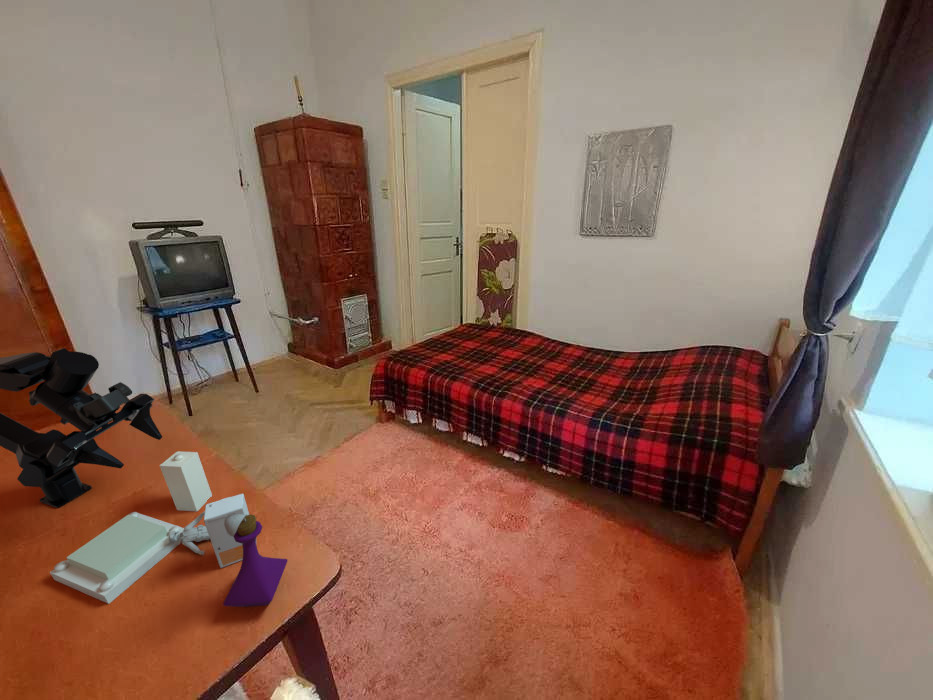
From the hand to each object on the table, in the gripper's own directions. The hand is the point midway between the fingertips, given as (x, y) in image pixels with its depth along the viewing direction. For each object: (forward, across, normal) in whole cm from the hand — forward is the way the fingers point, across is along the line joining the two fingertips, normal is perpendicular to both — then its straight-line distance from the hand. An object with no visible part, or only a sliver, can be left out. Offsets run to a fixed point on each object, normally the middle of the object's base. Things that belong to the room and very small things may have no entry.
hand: (142, 451), depth 78 cm
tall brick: (+15, 0, +4) cm, 15 cm away
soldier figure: (+22, -8, -3) cm, 24 cm away
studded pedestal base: (+13, -14, +6) cm, 20 cm away
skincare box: (+28, -11, -9) cm, 31 cm away
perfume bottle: (+34, -18, -15) cm, 41 cm away
